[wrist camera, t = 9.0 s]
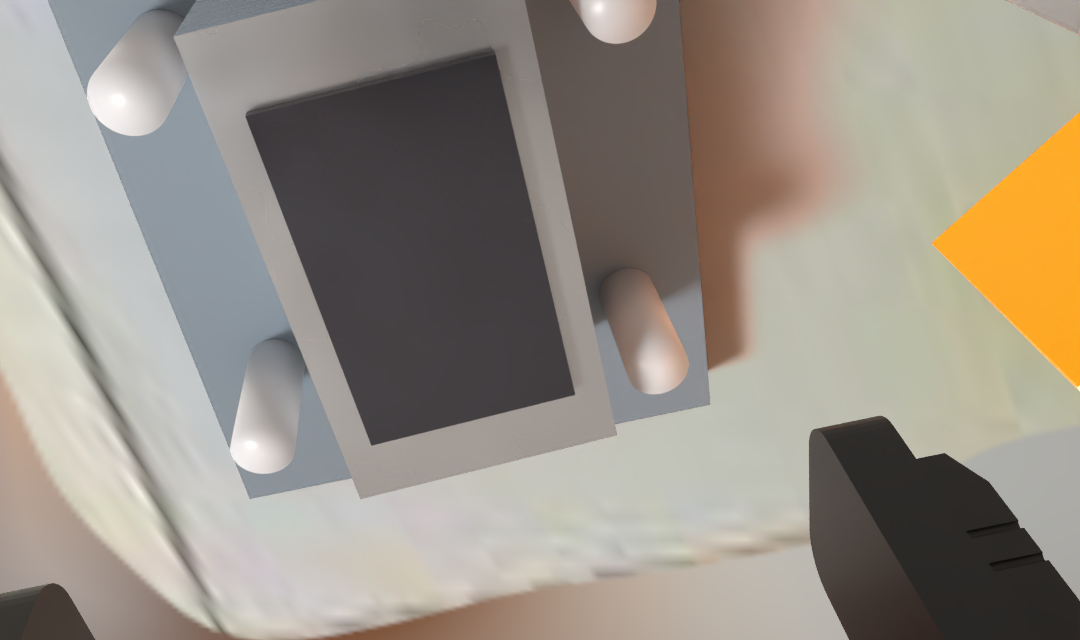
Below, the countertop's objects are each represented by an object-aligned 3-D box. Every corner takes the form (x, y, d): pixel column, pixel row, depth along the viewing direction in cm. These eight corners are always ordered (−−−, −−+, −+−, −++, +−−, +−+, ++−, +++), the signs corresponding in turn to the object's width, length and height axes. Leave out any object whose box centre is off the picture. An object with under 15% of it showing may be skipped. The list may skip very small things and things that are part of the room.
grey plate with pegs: (9, -160, 17) (-88, -125, 14) (642, -275, 18) (708, -270, 14) (255, 466, 25) (233, 594, 21) (696, 376, 25) (749, 487, 21)
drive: (211, -24, 18) (171, 41, 14) (490, -93, 18) (515, -46, 14) (363, 384, 22) (360, 506, 19) (583, 330, 22) (618, 441, 19)
